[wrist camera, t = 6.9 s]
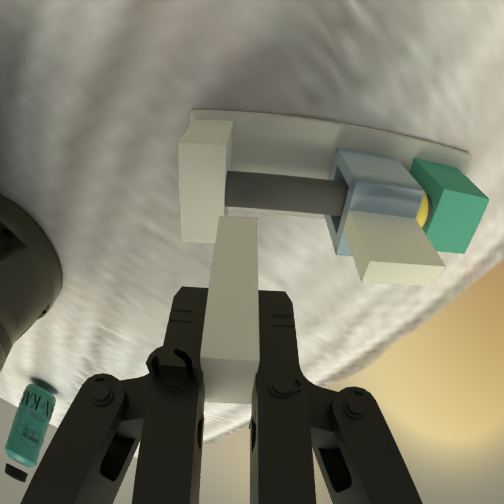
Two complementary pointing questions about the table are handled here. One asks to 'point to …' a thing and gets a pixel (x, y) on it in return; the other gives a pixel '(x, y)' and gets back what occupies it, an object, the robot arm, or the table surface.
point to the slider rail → (310, 173)
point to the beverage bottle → (29, 429)
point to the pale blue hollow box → (382, 221)
